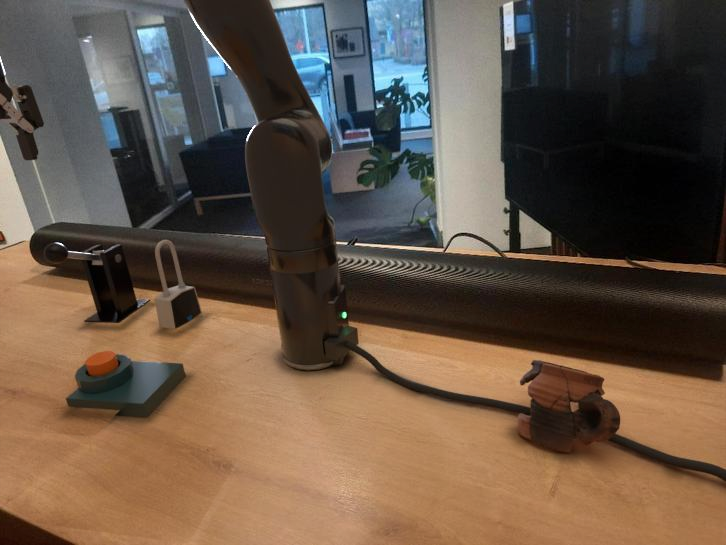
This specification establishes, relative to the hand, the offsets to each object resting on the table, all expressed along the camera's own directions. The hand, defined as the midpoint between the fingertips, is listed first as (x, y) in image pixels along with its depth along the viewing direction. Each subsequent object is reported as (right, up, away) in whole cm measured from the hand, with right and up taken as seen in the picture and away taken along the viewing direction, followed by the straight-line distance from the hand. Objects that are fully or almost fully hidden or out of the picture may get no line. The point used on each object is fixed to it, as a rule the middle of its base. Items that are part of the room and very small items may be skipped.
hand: (2, 164), depth 71 cm
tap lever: (+6, -14, +10) cm, 18 cm away
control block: (+21, -32, -5) cm, 38 cm away
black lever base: (+8, -23, +19) cm, 31 cm away
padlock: (+21, -24, +13) cm, 35 cm away
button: (+18, -28, -6) cm, 34 cm away
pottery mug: (+73, -32, -18) cm, 82 cm away
